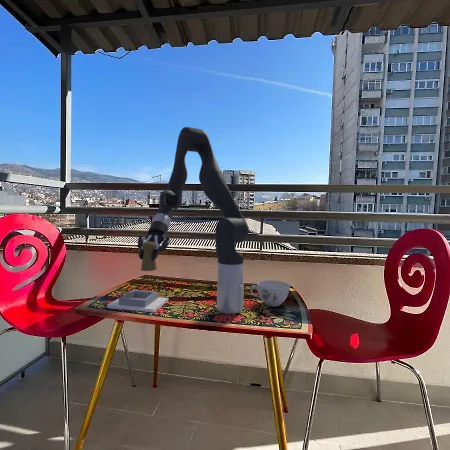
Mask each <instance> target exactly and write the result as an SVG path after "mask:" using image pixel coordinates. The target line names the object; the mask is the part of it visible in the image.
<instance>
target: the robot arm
mask: <svg viewBox="0 0 450 450" xmlns="http://www.w3.org/2000/svg"><path fill="white" fill-rule="evenodd" d="M188 152H192V153H193V152H195V153H198V155H199V157H200V160H201V165H200V170H199V173H198V181H199V183H200V185H201V188H202V190H203V192H204V195H205V196H206V197H207V199H208V200H209V201H211V203H212V204H213V205H214V206H215V207H217V208H218V210H219V212H221V214H222V215H223V218H220V219H219V220H218V221H217V223H216V225H215V230H214V231H215V234H214V236H215V254H216V257H217V279H216V280H217V281H216V286H217V287H216V290H217V291H216V310H217V311H218V313H221V314H228V315H233V314H241V313H242V311H243V309H244V294H245V293H244V292H245V291H244V290H245V289H244V288H245V286H244V285H245V284H244V281H243V280H244V255H243V254H242V253H240V252H238V251H237V249H236V244H239V243H244V242H246V240H247V239H248V238H249V233H250V231H249V229H250V228H249V225H248V222H247V221H246V219H245V217H244V215H243V214H242V212H241V210H240V208H239V207H238V205H237V204H236V202H235V199H234V197H233V195H232V192H231V191H230V188H229V186H228V184H227V181H226V179H225V177H224V175H223V173H222V170H221V169H220V168H221V167H219V164H218V161H217V159H216V157H215V154H214V153H215V152H214V150H213V147H212V144H211V142H210V138H209V136H208V134H207V132H206V131H205V130H204V129H201V128H196V127H190V126H185V127H183V128H182V129H181V130H180V132H179V134H178V139H177V143H176V150H175V155H174V163H173V169H172V172H171V175H170V178H169V181H168V184H167V189H168V190H162V192H161V193H160V194H159V201H158V202H159V203H158V209H157V211H156V214H155V215H154V217H153V220H152V222H151V223H150V226H149V228H148V231H147V234H146V235H145V236H141V235H139V236H138V240H137V245H136V247H137V248H138V250H139V253H138V258H139V259H140V260H142V259H143V252H144V250H143V249H142V244H143V243H144V242H154V243H155V245H156V247H155V250H154V251H153V254H152V256H151V258H152V260H156V259H157V258H158V256H159V253H161V252H162V253H164V252H165V251H166V249H167V248H168V246H169V245H170V244H171V239H170V237H169V236H167V234H168V231H169V229H170V225H171V221H172V218H173V216H174V214H175V212H174V211H175V210H178V209H180V208H181V207H182V204H183V203H182V202H183V191H184V188H185V185H186V182H187V180H188V169H187V165H186V155H187V153H188Z"/></svg>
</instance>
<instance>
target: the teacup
mask: <svg viewBox="0 0 450 450" xmlns="http://www.w3.org/2000/svg"><path fill="white" fill-rule="evenodd" d="M254 289H255V290H256V292H258V295H257V294H256V293H254V292H253V290H254ZM290 289H291V285H290V284H289V283H287V282H284V281H282V280H281V281H280V280H275V279H273V280H272V279H271V280H270V279H269V280H268V279H267V280H260V281H259V282H257V283H256V285H255V284H254V285H253V284H252V285H251V286H250V290H249V291H250V293H251V295H252V296H253V297H256V298H259V299H261V300H262V302H264V304H265V305H267V306H270V307H279V306H281V304H282V303H284V302H285V300H286V299H287V297H288V295H289V292H290Z"/></svg>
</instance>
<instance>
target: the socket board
mask: <svg viewBox="0 0 450 450" xmlns="http://www.w3.org/2000/svg"><path fill="white" fill-rule="evenodd" d="M167 302H169V297H159V291H152V290H139V289H132V290H131V291H129V292H127V293H125V294H123V295H121V296H120V297H118V298H117V299H116V300H114V301H112V302H110V303H108V304H107V305H106V306H107V307H106V308H108V309H116V310H117V309H118V310H126V311H127V310H129V311H135V312H136V311H138V312H146V313H156V311H157V310H159V309H160V308H161V307H162V306H164V305H165V304H166V303H167Z"/></svg>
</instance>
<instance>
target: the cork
mask: <svg viewBox="0 0 450 450" xmlns="http://www.w3.org/2000/svg"><path fill="white" fill-rule="evenodd" d="M155 247H156V245H155V243H154V242H145V241H144V243H143V244H142V249H143V250H144V252H143V259H141V269H140V271H142V272H143V271H144V272H153V271H156V270H158V269H157V262H156V259H155V260H152V258H151V256H152V254H153V251H154V250H155Z"/></svg>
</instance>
